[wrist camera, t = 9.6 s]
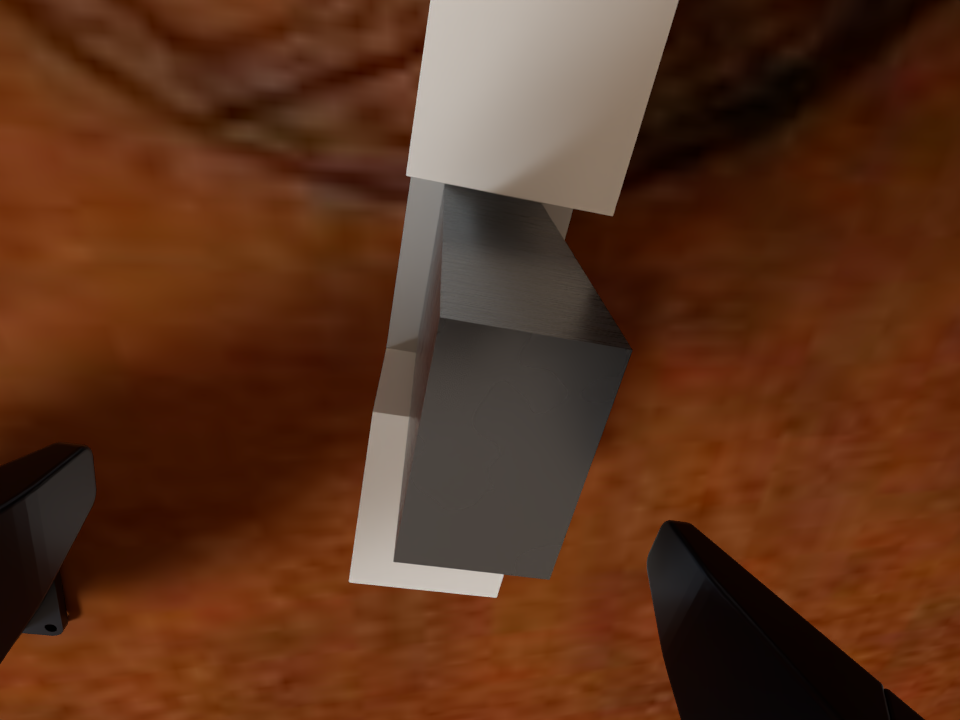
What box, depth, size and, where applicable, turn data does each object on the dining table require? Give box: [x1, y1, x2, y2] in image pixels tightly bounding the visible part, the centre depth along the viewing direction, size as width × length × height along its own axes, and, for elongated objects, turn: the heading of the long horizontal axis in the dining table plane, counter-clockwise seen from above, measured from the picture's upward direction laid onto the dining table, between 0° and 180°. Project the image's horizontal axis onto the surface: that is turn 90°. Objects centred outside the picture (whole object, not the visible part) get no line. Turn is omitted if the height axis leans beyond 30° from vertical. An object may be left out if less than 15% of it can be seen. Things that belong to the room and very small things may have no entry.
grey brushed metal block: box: [393, 184, 632, 579], centre depth 14 cm, size 5×3×10 cm, turn 168°
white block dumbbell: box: [349, 0, 679, 598], centre depth 17 cm, size 20×5×5 cm, turn 169°
